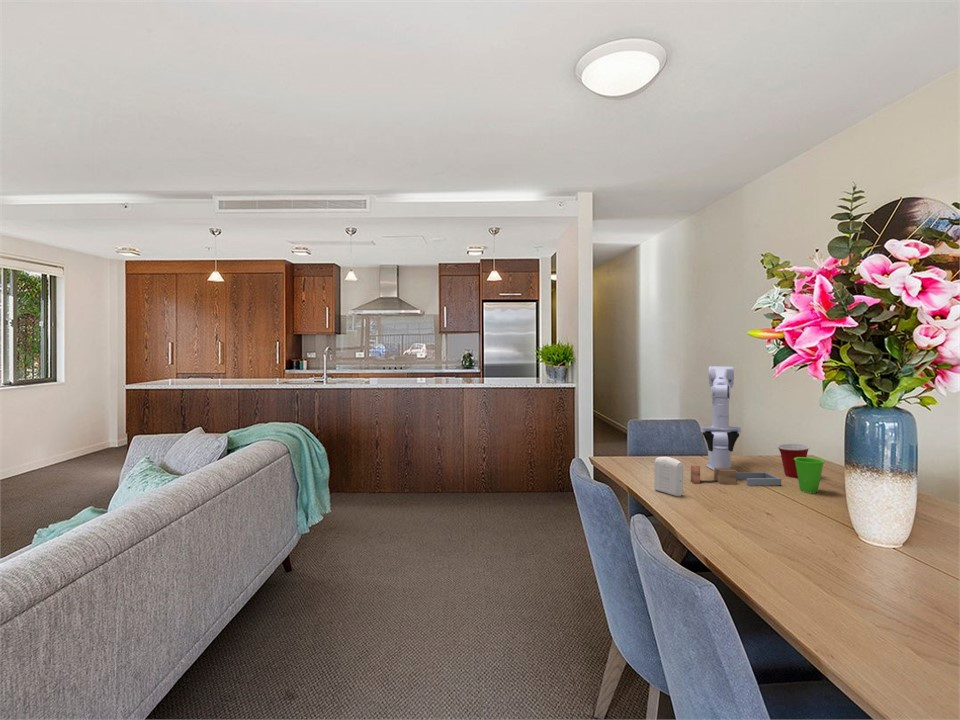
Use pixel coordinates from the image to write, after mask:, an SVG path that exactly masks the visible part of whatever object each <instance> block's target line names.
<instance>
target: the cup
mask: <svg viewBox="0 0 960 720" xmlns="http://www.w3.org/2000/svg"><path fill="white" fill-rule="evenodd" d="M794 460H795V463H796V469H797V475H798V478H797V479H798V485H799V490H800V491H801V492H803V491H804V492H803V493H806V492H809V493H808V494H817V493H818V491H819V489H820V488H819V487H820V481H821V477H822V472H823V467H824V463H826V462H825V460H823V459H820V458H816V457H796V458H794ZM810 492H811V493H810ZM816 492H817V493H816Z"/></svg>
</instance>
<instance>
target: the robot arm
mask: <svg viewBox="0 0 960 720" xmlns="http://www.w3.org/2000/svg"><path fill="white" fill-rule="evenodd" d="M708 380H709V381H708V384H709V387H710V388H711V389H710V390H711V391H710V392H711V395H710V396H711V402H712V403H711V404H712V424H711V425H710V426H700V433H702V436H703V437H704V440H705V441H706V445H707V450H708V451H707V464H705V467H707V468H709V469H710V468H711V469H710V470H713V471H714V467H730V468H732V467H731V462H732V461H731V456H732V455H731V452H733V451H734V447H735V444H736V442H737V440H738V439H739V437H740V433H741V431H742V430H741V429H742V428H741V427H740V426H730V399H731V389H732V388H733V387H734V380H735V368H734V366H732V365H730V366H721V365H720V366H719V365H718V366H713V365H710V366H709V367H708ZM741 434H742V433H741Z"/></svg>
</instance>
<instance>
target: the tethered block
mask: <svg viewBox="0 0 960 720" xmlns="http://www.w3.org/2000/svg"><path fill="white" fill-rule="evenodd" d="M737 472H738V471H737V470H736V469H734V468H732V467H731V468H730V467H714V470H713V479H709V480H706V479H705V480H703V479H701V466H700V465H690V483H691V482H692V484H697V483H698V484H700V483H717V482H718V483H717V484H719V485H737V480H738V479H737Z"/></svg>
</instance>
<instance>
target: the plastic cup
mask: <svg viewBox="0 0 960 720" xmlns="http://www.w3.org/2000/svg"><path fill="white" fill-rule="evenodd" d="M777 448H778V450H779V453H780V457H781V461H782V467H783V472H784V475H785V477H790V478H795V477H796V478H797V479H798V475H797V469H796V463H795V460H794V458H796V457H807V456H808V452H809V449H810V445H807V444H802V443H780V444H778V445H777Z"/></svg>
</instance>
